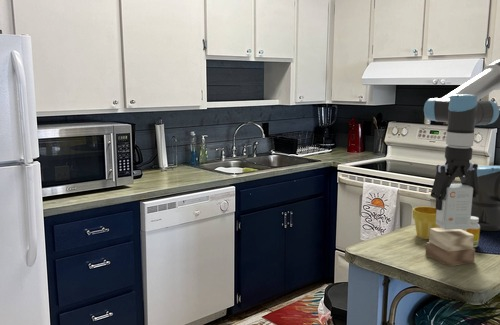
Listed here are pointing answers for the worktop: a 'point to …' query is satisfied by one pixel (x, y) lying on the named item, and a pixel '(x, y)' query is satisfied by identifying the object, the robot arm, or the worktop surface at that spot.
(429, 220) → the plant pot
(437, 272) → the worktop surface
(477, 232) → the supplement bottle
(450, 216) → the small box
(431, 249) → the walnut slab
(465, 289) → the worktop surface
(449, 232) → the maple slab
